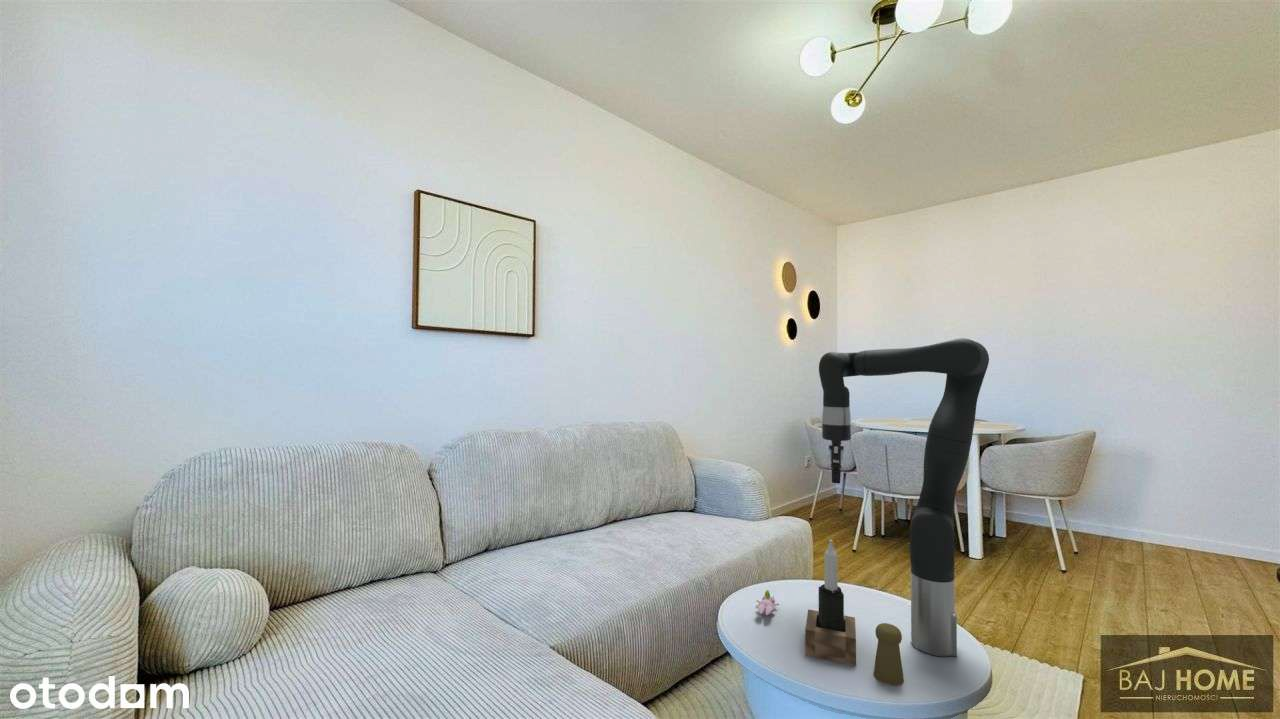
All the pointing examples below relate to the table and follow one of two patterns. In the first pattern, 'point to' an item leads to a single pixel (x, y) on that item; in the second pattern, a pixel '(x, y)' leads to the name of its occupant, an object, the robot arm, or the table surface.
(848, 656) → the box
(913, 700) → the table surface
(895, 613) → the table surface
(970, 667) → the table surface
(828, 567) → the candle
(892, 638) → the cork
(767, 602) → the pink rainbow-tailed figurine
